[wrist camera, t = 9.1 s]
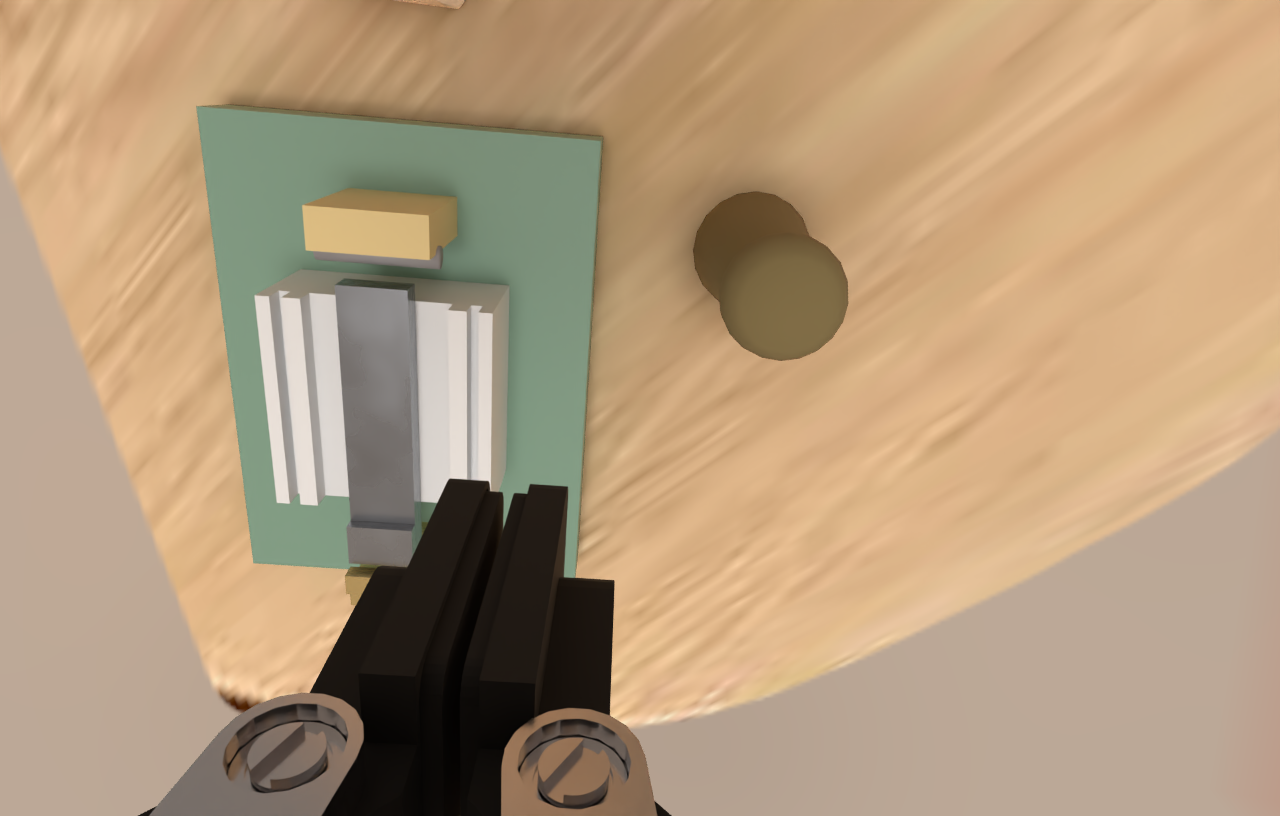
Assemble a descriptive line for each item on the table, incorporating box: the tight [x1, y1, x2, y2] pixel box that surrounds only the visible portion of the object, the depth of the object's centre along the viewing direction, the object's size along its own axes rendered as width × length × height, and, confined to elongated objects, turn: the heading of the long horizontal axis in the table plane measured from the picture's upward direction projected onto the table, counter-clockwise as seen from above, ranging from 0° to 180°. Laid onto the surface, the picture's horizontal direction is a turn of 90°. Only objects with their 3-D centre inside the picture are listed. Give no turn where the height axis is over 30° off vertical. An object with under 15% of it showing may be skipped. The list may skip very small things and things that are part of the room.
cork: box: [693, 192, 848, 361], centre depth 36 cm, size 6×6×11 cm
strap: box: [335, 278, 422, 567], centre depth 36 cm, size 13×3×2 cm, turn 175°
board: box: [196, 105, 603, 578], centre depth 39 cm, size 24×18×8 cm
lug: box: [345, 522, 428, 605], centre depth 40 cm, size 2×3×6 cm, turn 85°
